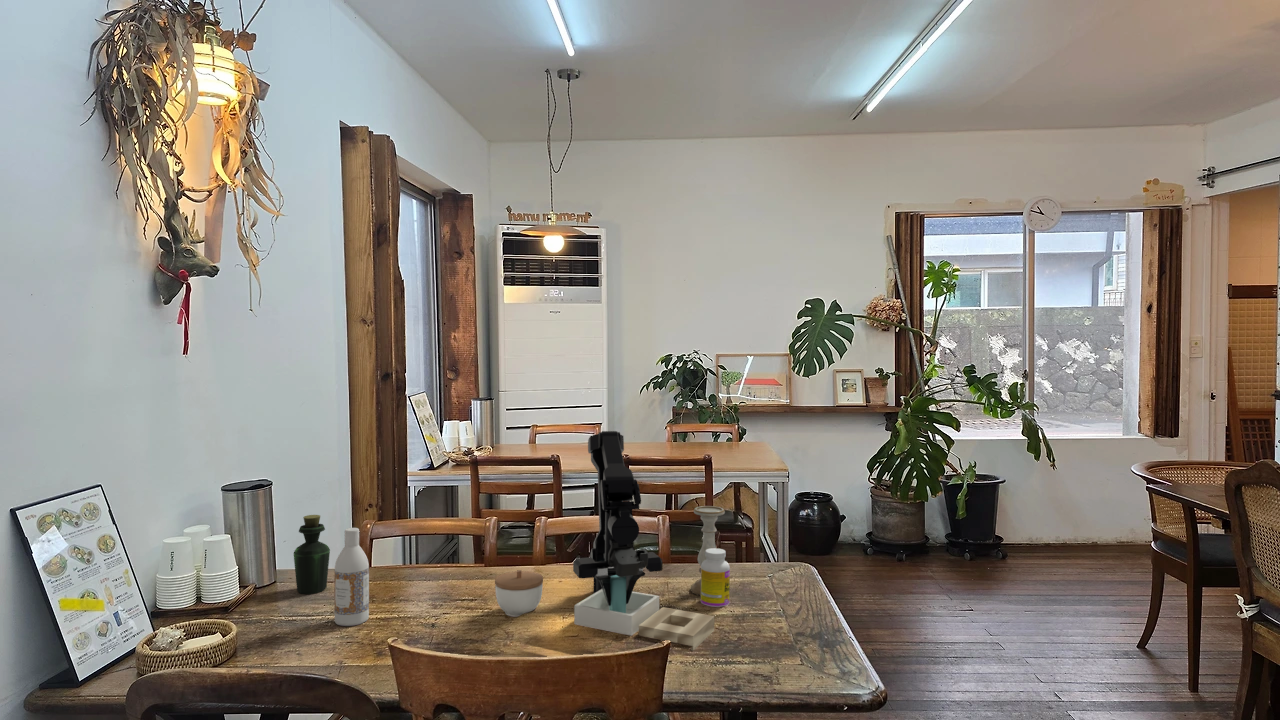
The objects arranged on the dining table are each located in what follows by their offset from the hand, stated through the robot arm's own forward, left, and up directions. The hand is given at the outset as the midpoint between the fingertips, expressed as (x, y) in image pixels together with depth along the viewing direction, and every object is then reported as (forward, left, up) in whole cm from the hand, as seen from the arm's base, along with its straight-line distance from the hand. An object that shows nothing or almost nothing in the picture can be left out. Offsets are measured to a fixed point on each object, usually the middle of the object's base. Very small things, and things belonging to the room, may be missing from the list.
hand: (617, 604), depth 160 cm
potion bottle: (-76, -15, -4) cm, 78 cm away
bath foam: (-52, -25, -4) cm, 58 cm away
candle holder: (+10, +29, -4) cm, 31 cm away
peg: (0, 0, -3) cm, 3 cm away
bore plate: (+14, 0, -4) cm, 15 cm away
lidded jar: (-23, -4, -4) cm, 24 cm away
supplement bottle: (+15, +20, -4) cm, 25 cm away
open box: (0, 0, -4) cm, 4 cm away
